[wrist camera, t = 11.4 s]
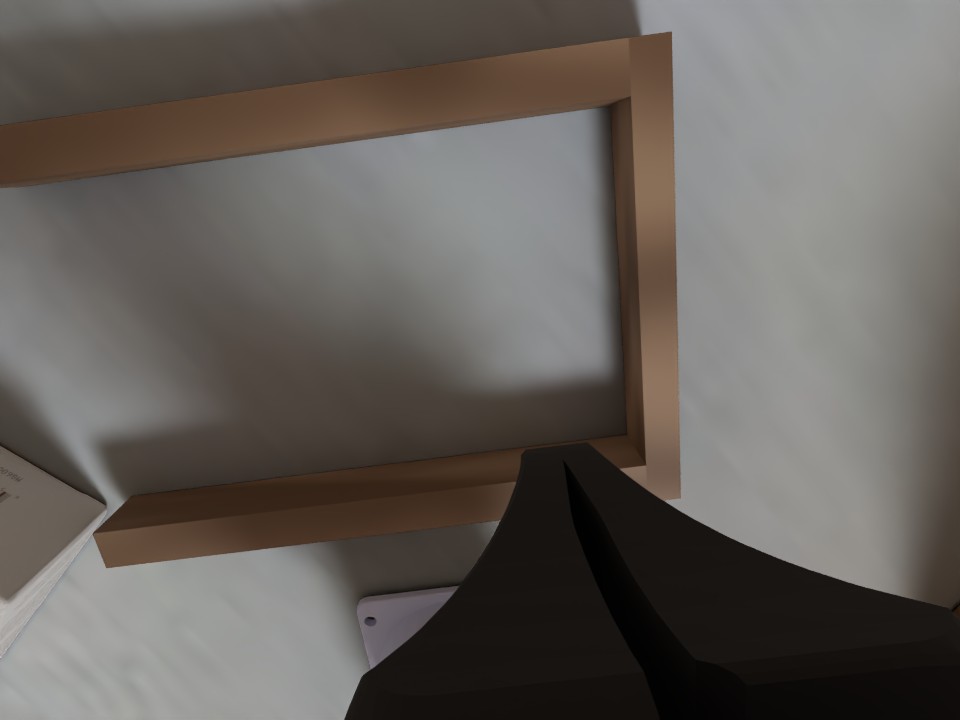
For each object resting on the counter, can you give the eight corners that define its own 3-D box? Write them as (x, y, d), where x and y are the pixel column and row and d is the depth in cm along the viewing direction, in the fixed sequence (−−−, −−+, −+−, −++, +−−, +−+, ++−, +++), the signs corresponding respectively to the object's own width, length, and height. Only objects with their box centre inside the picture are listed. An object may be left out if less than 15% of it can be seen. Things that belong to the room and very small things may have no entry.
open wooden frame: (658, 464, 23) (680, 498, 20) (143, 528, 23) (106, 568, 21) (645, 50, 18) (671, 31, 16) (0, 139, 19) (-68, 135, 16)
